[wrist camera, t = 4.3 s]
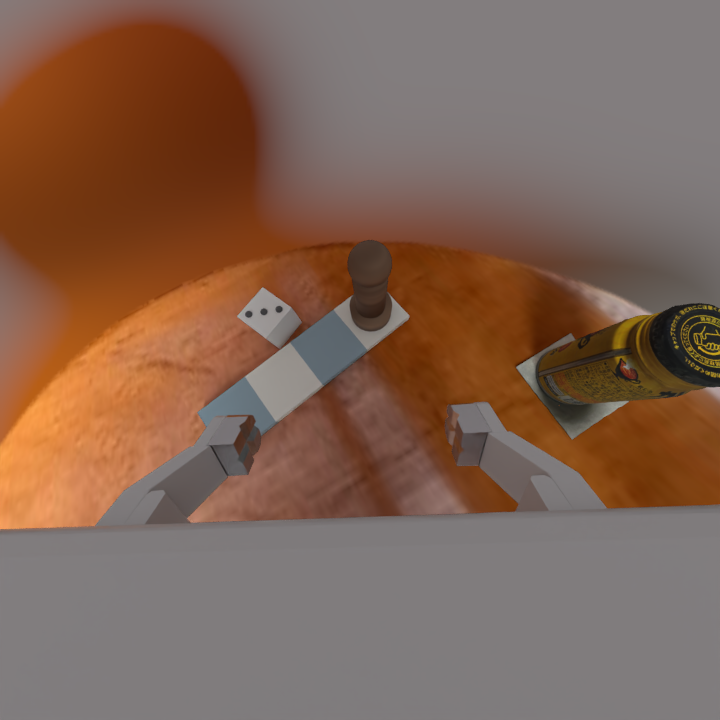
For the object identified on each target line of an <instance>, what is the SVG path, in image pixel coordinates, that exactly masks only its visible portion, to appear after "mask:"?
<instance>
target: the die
mask: <svg viewBox="0 0 720 720" xmlns="http://www.w3.org/2000/svg"><path fill="white" fill-rule="evenodd" d="M237 317H238V318H239V319H241V320H242V321H243V322H245V323H246V324H247V325H249V326H250V327H251V328H252V329H254V330H255V331H256V332H258V333H259V334H260V335H262V336H263V337H264V338H266V339H267V340H268V341H270V342H271V343H272V344H274V345H275V346H276V347H278V348H279V349H281V347H282V346H283V345H284V344H285V343H286V341H287V340H288V339H289V338H290V336H291V335H292V334H293V333H294V332H295V330H296V329H297V328H298V327H299V326H300V324H301V323H302V321H301V320H300V319H299V317H298V316H297V314H296V313H295V312H294V310H293V309H292V308H291V307H290V306H289V305H287V304H286V303H284V302H283V301H282V300H280V299H279V298H277V297H276V296H274V295H273V294H272V293H270V292H269V291H267V290H266V289H265V288H263V287H262V288H261V290H260V291H259V292H258V293H257V294H256V295H255V296H254V297H253V299H252V300H251V301H250V302H249V303H248V304H247V305H246V307H245V308H244V309H243V310H242V311H241V312H240V313H239V315H238V316H237Z"/></svg>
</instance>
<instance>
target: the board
mask: <svg viewBox="0 0 720 720" xmlns="http://www.w3.org/2000/svg"><path fill="white" fill-rule="evenodd" d="M387 293H388V292H387ZM388 294H389V293H388ZM389 295H390V294H389ZM351 297H352V296H351ZM351 297H349V298H348V299H347V300H345V301H344V302H343V303H341V304H340V305H339V306H337V307H336V308H335V309H334V310H332V311H331V312H330V313H328V314H327V315H326V316H324V317H323V318H322V319H320V320H319V321H318V322H316V323H315V324H314V325H312V326H311V327H310V328H308V329H307V330H306V331H304V332H303V333H302V334H300V335H299V336H298V337H297V338H295V339H294V340H293V341H291V342H290V343H289V344H287V345H286V346H285V347H283V348H282V349H281V350H279V351H278V352H277V353H275V354H274V355H273V356H271V357H270V358H269V359H267V360H266V361H265V362H263V363H262V364H261V365H260V366H258V367H257V368H256V369H254V370H253V371H252V372H250V373H249V374H248V375H246V376H245V377H244V378H242V379H241V380H240V381H238V382H237V383H236V384H234V385H233V386H232V387H230V388H229V389H228V390H226V391H225V392H224V393H222V394H221V395H220V396H219V397H217V398H216V399H215V400H213V401H212V402H211V403H209V404H208V405H207V406H205V407H204V408H203V409H201V410H200V411H199V412H197V413H198V414H199V416H200V418H201V419H202V421H203V422H204V424H205V426H206V427H207V426H208V425H209V423H210V422H211V420H212V419H213V418H214V417H216V416H228V415H253V416H254V418H255V420H256V422H255V424H254V426H256V427H257V428H259V430H260V433H261V436H262V435H263V434H264V433H266V432H267V431H268V430H269V429H271V428H272V427H273V426H274V425H276V424H277V423H278V422H279V421H281V420H282V419H283V418H284V417H286V416H287V415H288V414H290V413H291V412H292V411H293V410H295V409H296V408H297V407H298V406H300V405H301V404H302V403H303V402H305V401H306V400H307V399H308V398H310V397H311V396H312V395H314V394H315V393H316V392H317V391H319V390H320V389H321V388H322V387H324V386H325V385H326V384H327V383H329V382H330V381H331V380H332V379H334V378H335V377H336V376H337V375H339V374H340V373H341V372H343V371H344V370H345V369H346V368H348V367H349V366H350V365H351V364H353V363H354V362H355V361H356V360H358V359H359V358H360V357H361V356H363V355H364V354H365V353H367V352H368V351H369V350H370V349H372V348H373V347H374V346H375V345H377V344H378V343H379V342H380V341H382V340H383V339H384V338H385V337H387V336H388V335H389V334H391V333H392V332H393V331H394V330H396V329H397V328H398V327H399V326H401V325H402V324H403V323H404V322H406V321H407V320H408V319H409V315H408V314H407V313H406V312H405V310H404V309H403V308H402V307H401V306H400V305H399V304H398V303H397V302H396V301H395V300H394V299H393V298H392V297H391V295H390V297H391V300H392V310H391V316H390V320H389V322H388V323H387V324H386V326H384V327H383V328H382V329H380V330H377V331H372V332H369V331H364V330H362V329H360V328H358V327H357V326H356V325H355V324H354V322H353V320H352V317H351V312H350V306H349V305H350V300H351Z"/></svg>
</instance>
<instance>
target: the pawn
mask: <svg viewBox="0 0 720 720" xmlns="http://www.w3.org/2000/svg"><path fill="white" fill-rule="evenodd" d="M391 269H392V258H391V255H390V253H389V251H388V249H387V248H386V247H385V246H384V245H383V244H381V243H379V242H377V241H374V240H367V241H363V242H361V243H359V244H357V245H356V246H355V247H354V248H353V249H352V251H351V252H350V255H349V257H348V271H349V274H350V276H351V278H352V282H353V288H354V294H353V295H352V297H351V300H350V305H349V306H350V312H351V317H352V320H353V322H354V324H355V325H356V326H357V327H358V328H360V329H362V330H364V331H369V332H372V331H377V330H380V329H382V328H383V327H384V326H386V324H387V323H388V322H389V320H390V316H391V310H392V300H391V297H390V295H389V294H388V293H387V284H388V277H389V275H390V272H391Z"/></svg>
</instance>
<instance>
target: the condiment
mask: <svg viewBox="0 0 720 720" xmlns="http://www.w3.org/2000/svg"><path fill="white" fill-rule="evenodd" d="M516 368H517V369H518V371H519V372H520V373H521V375H522V376H523V377H524V379H525V380H526V382H527V383H528V384H529V385H530V387H531V388H532V389H533V391H534V392H535V393H536V394H537V396H538V397H539V398H540V400H541V401H542V402H543V403H544V405H545V406H546V407H547V408H548V409H549V410H550V412H551V413H552V415H553V416H554V417H555V419H556V420H557V421H558V423H559V424H560V425H561V426H562V427H563V428H564V429H565V431H566V432H567V434H568V435H569V436H570V437H571V439H574V438H575V437H577V436H578V435H579V434H580V433H582V432H583V431H585V430H586V429H588V428H589V427H591V426H592V425H593V424H595V423H596V422H598V421H599V420H601V419H602V418H603V417H605V416H607V415H609V414H610V413H612V412H613V411H615V410H616V409H617V408H619V407H621V406H623V405H624V404H626V403H627V402H629V401H632V400H644V399H657V398H669V397H677V396H680V395H683V394H686V393H688V392H689V391H691V390H699V389H702V388H706V387H720V308H717V307H715V306H713V305H710V304H702V303H701V304H700V303H698V304H687V305H680V306H674V307H671V308H669V309H668V310H665V311H663V312H660V313H656V314H653V315H640V316H636V317H633V318H630V319H626V320H623V321H622V322H619V323H617V324H614V325H612V326H610V327H607V328H604V329H602V330H600V331H597V332H594V333H591V334H589V335H587V336H585V337H582V338H579V339H577V340H575V338H574V337H573V336H572V334H571V333H570V334H568V335H567V336H565V337H564V338H562V339H560V340H559V341H557V342H555V343H554V344H552V345H551V346H549V347H547V348H546V349H544V350H543V351H541V352H539V353H538V354H536V355H535V356H533V357H531V358H530V359H528V360H527V361H525V362H523V363H522V364H520V365H519V366H517V367H516ZM559 405H560V406H559Z"/></svg>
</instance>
